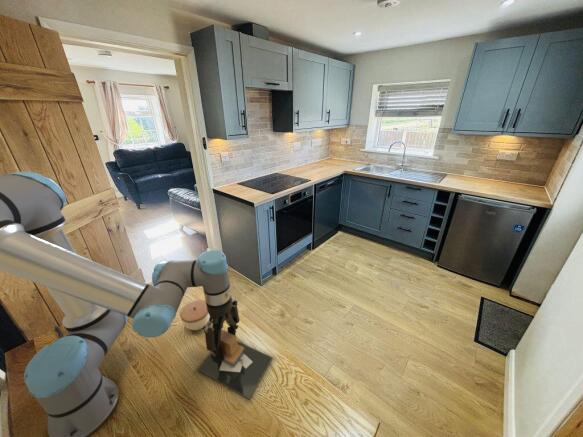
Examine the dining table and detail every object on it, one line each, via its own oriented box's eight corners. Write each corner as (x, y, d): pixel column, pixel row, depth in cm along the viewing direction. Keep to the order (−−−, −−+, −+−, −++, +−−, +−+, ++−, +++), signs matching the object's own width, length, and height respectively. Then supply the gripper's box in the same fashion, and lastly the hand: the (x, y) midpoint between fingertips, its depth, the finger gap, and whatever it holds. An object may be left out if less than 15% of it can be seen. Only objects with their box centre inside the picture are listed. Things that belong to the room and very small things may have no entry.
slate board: (198, 370, 78) (197, 369, 77) (226, 337, 89) (225, 335, 89) (249, 399, 70) (249, 398, 70) (272, 359, 82) (272, 357, 81)
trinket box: (216, 314, 99) (213, 297, 95) (205, 336, 89) (201, 318, 85) (191, 312, 100) (187, 295, 96) (178, 334, 90) (173, 316, 86)
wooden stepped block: (210, 354, 82) (206, 337, 78) (222, 341, 87) (219, 324, 83) (233, 367, 78) (231, 350, 74) (244, 352, 83) (242, 335, 79)
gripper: (205, 326, 62) (216, 380, 72) (247, 283, 78) (251, 332, 88) (184, 316, 65) (197, 369, 75) (229, 276, 81) (235, 325, 91)
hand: (226, 349), depth 81 cm, fingers closed on wooden stepped block, 6 cm apart
